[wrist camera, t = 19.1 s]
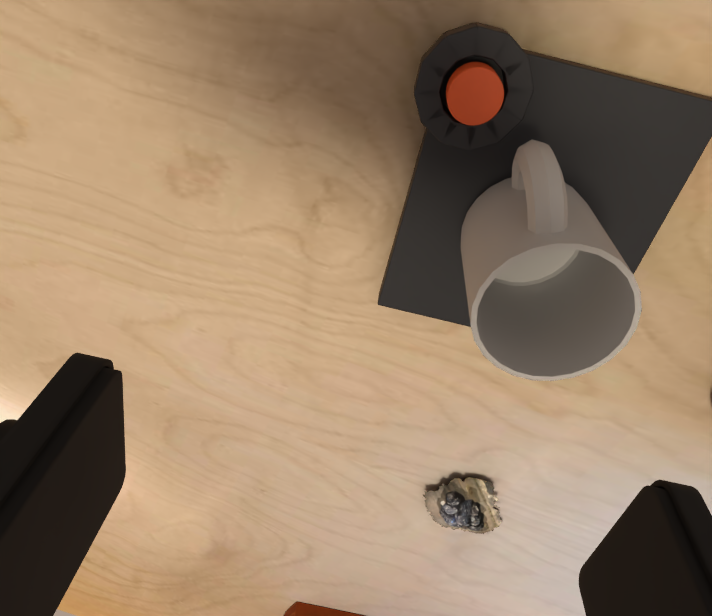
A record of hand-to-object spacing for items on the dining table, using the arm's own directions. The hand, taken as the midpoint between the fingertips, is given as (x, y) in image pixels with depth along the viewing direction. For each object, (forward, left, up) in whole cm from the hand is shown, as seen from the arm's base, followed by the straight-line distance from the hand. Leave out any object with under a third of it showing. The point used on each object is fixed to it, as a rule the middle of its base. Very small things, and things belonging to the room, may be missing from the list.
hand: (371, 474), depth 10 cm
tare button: (-3, +3, -22) cm, 22 cm away
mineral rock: (+29, +13, -25) cm, 41 cm away
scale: (+3, +8, -25) cm, 26 cm away
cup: (+3, +8, -24) cm, 25 cm away
